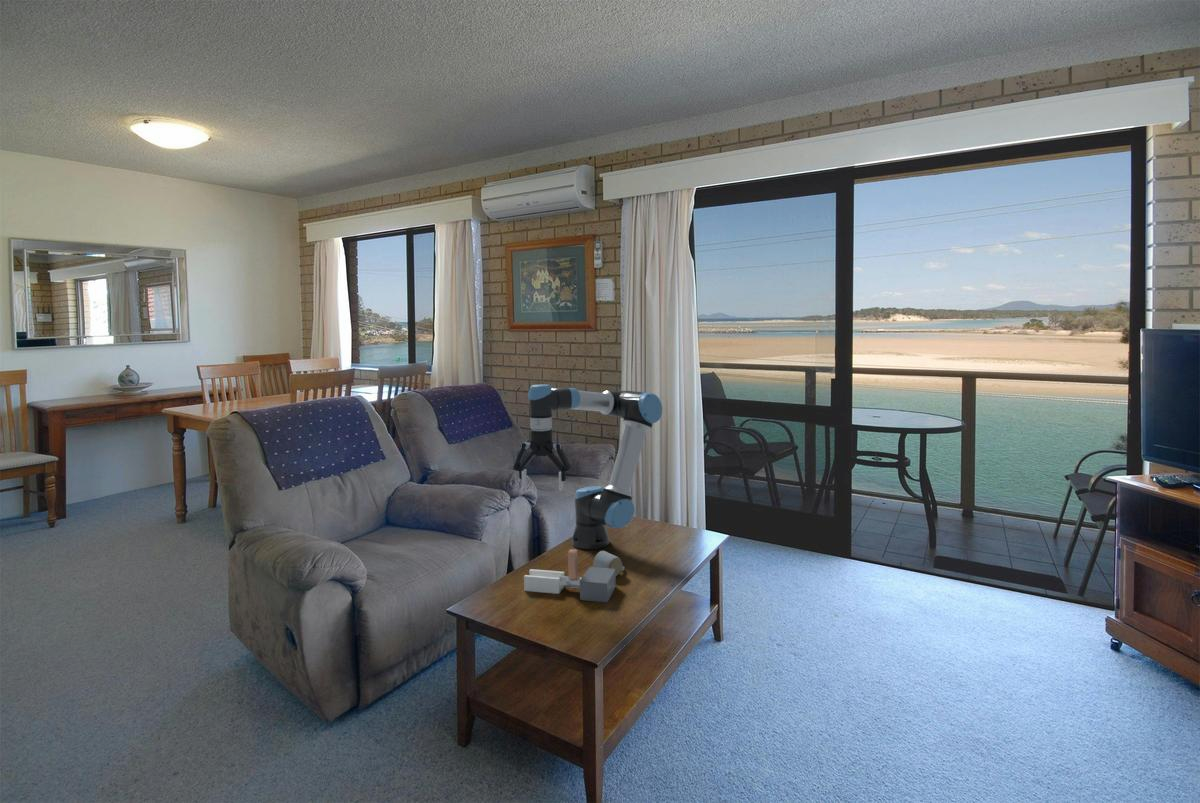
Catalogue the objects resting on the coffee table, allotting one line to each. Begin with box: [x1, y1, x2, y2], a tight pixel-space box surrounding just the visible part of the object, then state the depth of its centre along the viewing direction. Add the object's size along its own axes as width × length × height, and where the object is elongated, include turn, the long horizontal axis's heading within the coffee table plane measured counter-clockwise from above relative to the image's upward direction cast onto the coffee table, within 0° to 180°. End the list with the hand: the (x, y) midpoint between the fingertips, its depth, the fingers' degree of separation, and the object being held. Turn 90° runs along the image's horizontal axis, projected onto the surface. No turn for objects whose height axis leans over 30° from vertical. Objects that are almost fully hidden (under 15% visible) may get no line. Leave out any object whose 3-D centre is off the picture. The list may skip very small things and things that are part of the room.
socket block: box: [579, 566, 617, 603], centre depth 201 cm, size 12×9×6 cm
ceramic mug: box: [592, 550, 625, 577], centre depth 217 cm, size 11×8×8 cm
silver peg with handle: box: [558, 548, 582, 589], centre depth 201 cm, size 3×16×12 cm, turn 76°
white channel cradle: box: [523, 568, 565, 595], centre depth 205 cm, size 6×12×5 cm, turn 76°
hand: (542, 489), depth 214 cm, fingers open, 13 cm apart
